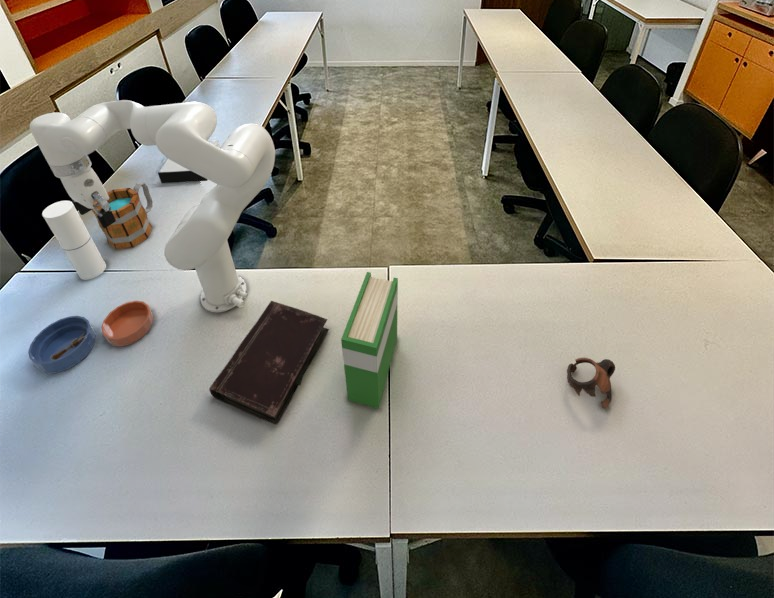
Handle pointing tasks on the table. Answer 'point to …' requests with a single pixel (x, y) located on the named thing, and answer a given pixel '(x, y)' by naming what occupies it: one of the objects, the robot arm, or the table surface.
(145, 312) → the shallow terracotta dish
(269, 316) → the diary
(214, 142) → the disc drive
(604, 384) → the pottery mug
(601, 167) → the table surface
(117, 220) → the mug
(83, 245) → the cylindrical container
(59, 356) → the wooden post with brackets
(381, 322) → the hardback book
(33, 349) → the bowl
